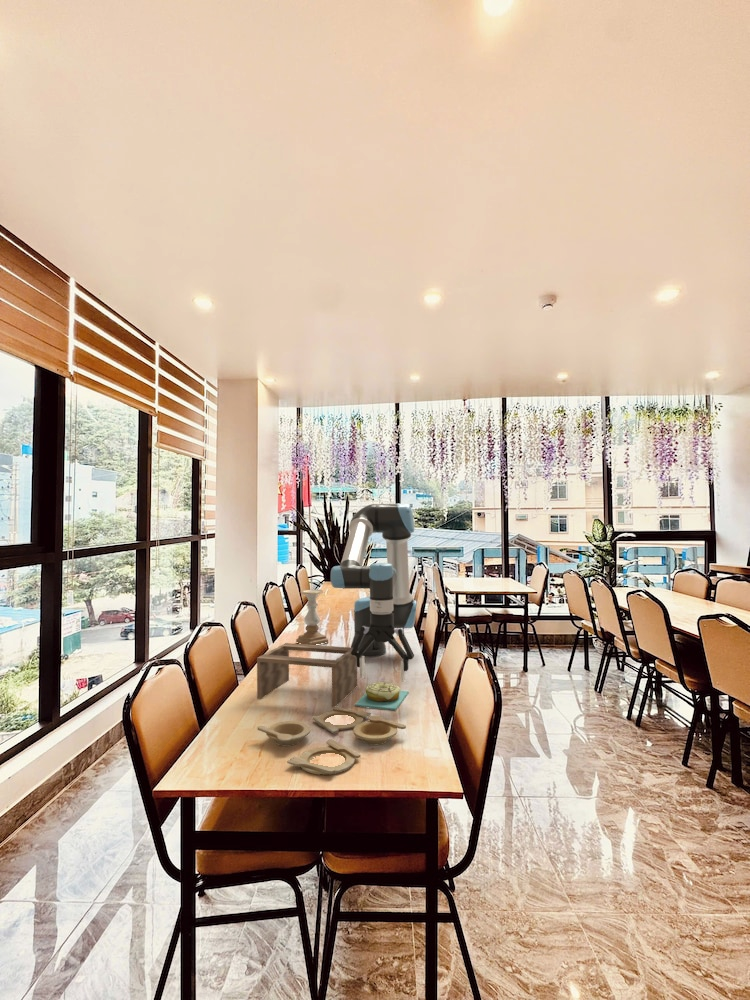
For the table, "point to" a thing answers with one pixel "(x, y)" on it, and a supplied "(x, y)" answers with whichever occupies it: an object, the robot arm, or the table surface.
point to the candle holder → (312, 621)
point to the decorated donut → (382, 691)
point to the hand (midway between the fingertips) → (382, 679)
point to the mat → (382, 702)
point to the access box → (277, 665)
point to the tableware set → (367, 731)
